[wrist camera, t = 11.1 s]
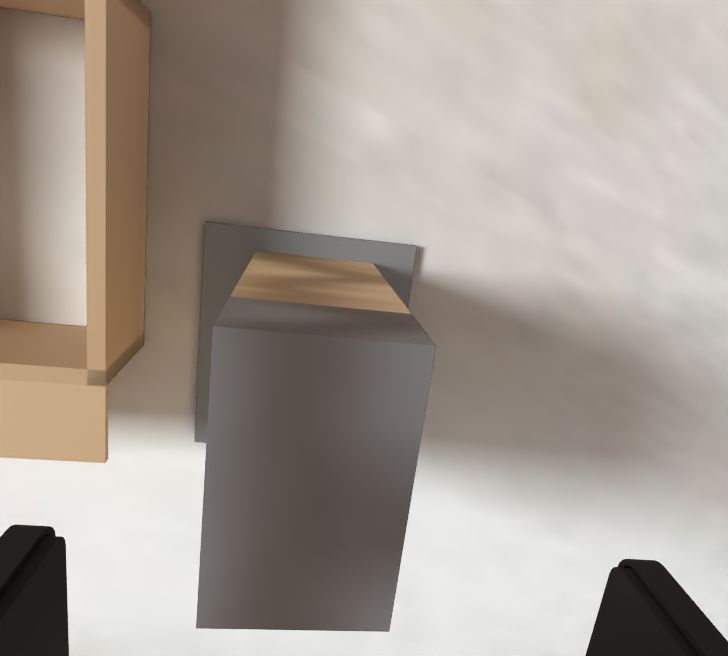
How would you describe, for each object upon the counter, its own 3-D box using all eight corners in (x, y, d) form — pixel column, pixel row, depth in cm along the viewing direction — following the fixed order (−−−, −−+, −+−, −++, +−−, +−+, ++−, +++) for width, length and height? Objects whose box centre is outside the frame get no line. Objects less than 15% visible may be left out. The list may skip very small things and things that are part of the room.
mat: (415, 245, 25) (416, 246, 24) (385, 450, 27) (386, 453, 27) (205, 222, 23) (204, 222, 23) (195, 438, 26) (194, 441, 26)
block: (372, 263, 24) (435, 346, 13) (351, 430, 26) (389, 631, 15) (256, 250, 24) (213, 326, 12) (243, 423, 26) (196, 628, 14)
